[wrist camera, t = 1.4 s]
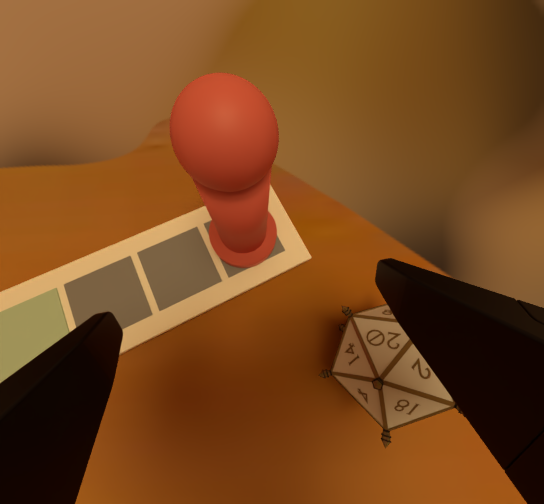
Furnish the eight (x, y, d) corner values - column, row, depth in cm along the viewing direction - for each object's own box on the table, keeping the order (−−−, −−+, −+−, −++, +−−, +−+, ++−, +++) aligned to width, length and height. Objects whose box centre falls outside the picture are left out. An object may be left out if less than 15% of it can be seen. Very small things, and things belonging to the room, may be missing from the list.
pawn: (269, 273, 20) (291, 181, 7) (205, 261, 20) (98, 146, 7) (280, 213, 22) (315, 43, 8) (220, 203, 22) (157, 14, 8)
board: (267, 184, 24) (267, 178, 23) (309, 259, 22) (311, 257, 21) (-34, 311, 19) (-48, 311, 18) (-13, 421, 17) (-28, 426, 16)
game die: (334, 360, 23) (281, 406, 15) (361, 278, 22) (322, 278, 14) (441, 422, 18) (451, 540, 10) (481, 320, 18) (526, 357, 9)
